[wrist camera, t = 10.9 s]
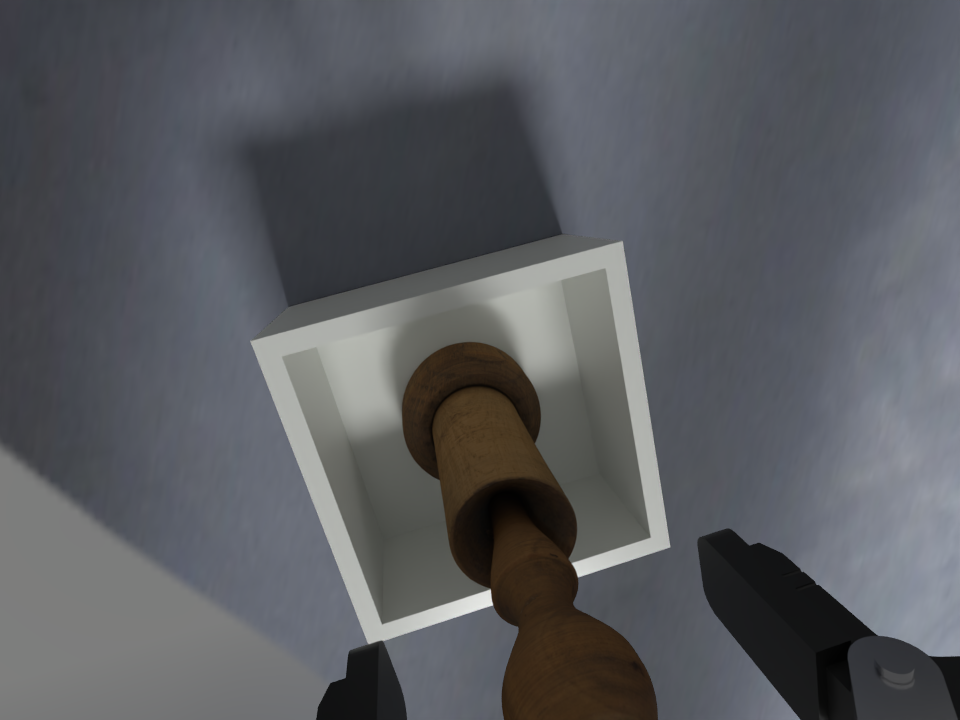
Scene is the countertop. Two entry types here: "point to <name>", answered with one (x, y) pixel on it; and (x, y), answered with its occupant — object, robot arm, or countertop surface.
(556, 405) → the box
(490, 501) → the mortar and pestle
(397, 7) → the countertop surface
